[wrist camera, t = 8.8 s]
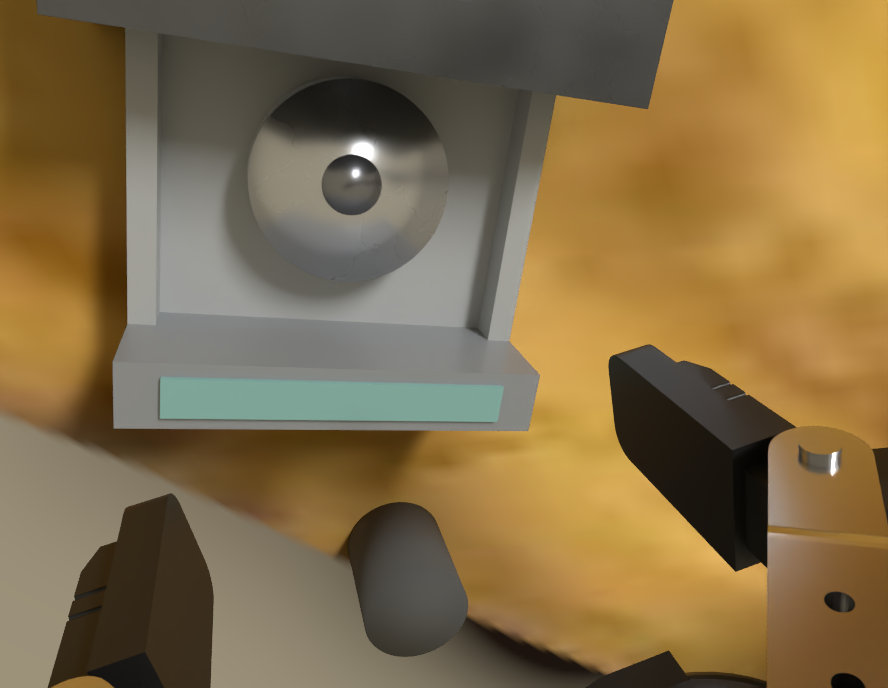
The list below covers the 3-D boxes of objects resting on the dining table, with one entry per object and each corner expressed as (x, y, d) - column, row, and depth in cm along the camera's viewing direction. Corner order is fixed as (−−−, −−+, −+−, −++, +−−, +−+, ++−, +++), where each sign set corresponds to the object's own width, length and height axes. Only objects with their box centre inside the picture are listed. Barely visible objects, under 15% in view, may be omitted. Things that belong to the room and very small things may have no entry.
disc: (448, 91, 23) (463, 94, 21) (422, 273, 25) (433, 288, 23) (252, 61, 21) (254, 62, 20) (241, 260, 23) (242, 274, 22)
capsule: (444, 501, 31) (475, 569, 27) (432, 576, 32) (459, 652, 28) (353, 503, 30) (370, 574, 26) (343, 581, 31) (359, 661, 27)
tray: (549, -56, 23) (639, -84, 18) (476, 361, 29) (529, 433, 23) (138, -148, 20) (102, -216, 15) (138, 349, 25) (112, 430, 20)
